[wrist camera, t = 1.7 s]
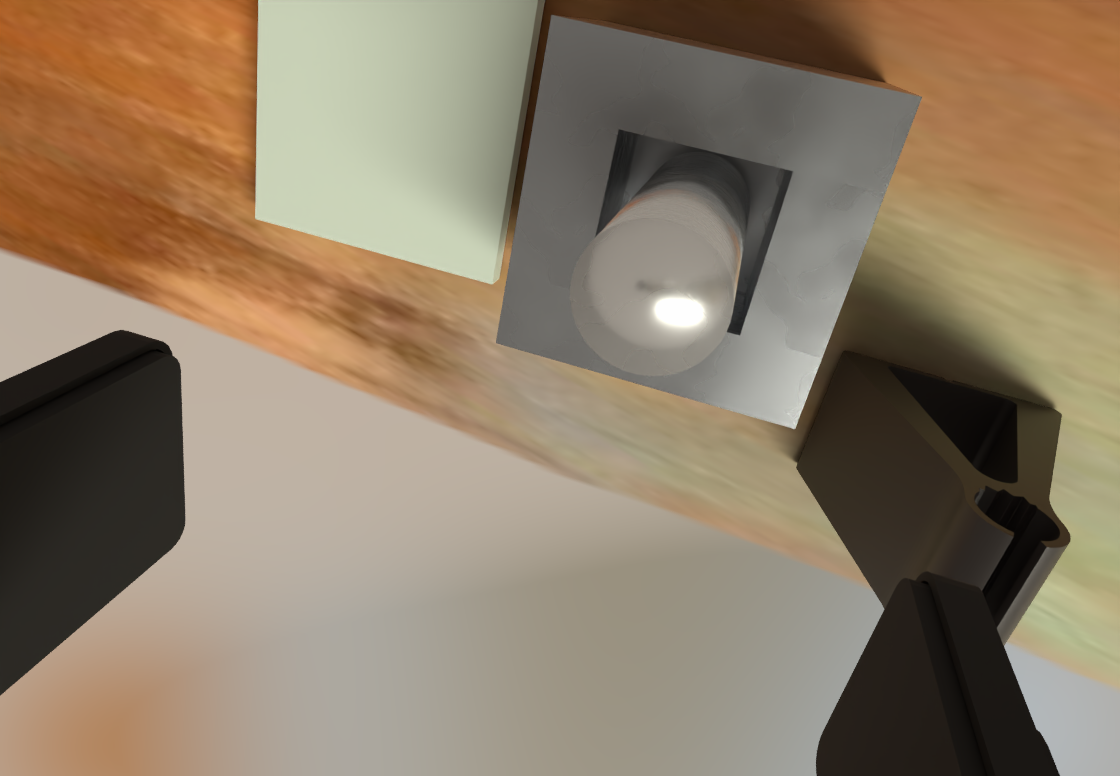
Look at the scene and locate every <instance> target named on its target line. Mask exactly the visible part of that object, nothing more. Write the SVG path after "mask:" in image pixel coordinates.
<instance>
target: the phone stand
mask: <svg viewBox="0 0 1120 776" xmlns="http://www.w3.org/2000/svg"><path fill="white" fill-rule="evenodd" d="M1061 417H1062V414H1061V413H1060V412H1058V411H1056V410H1054V409H1052V408H1049V407H1045V406H1042V405H1038V404H1035V403H1031V402H1027V401H1024V400H1020V399H1017V398H1013V397H1010V396H1006V395H1003V394H999V393H996V392H992V391H988V390H985V389H981V388H978V387H974V386H971V385H967V384H964V383H960V382H956V381H948V380H946V379H944V378H942V377H939V376H935V375H932V374H928V373H924V372H921V371H917V370H914V369H910V368H907V367H903V366H900V365H896V364H893V363H889V362H885V361H882V360H878V359H875V358H871V357H868V356H864V355H861V354H857V353H853V352H850V351H844V352H843V354H842V356H841V359H840V361H839V364H838V366H837V368H836V371H835V373H834V376H833V378H832V381H831V383H830V386H829V388H828V391H827V393H826V395H825V398H824V400H823V403H822V405H821V408H820V410H819V413H818V415H817V418H816V420H815V422H814V425H813V427H812V430H811V432H810V435H809V437H808V440H807V442H806V445H805V447H804V449H803V452H802V454H801V457H800V459H799V462H798V464H797V467H796V468H797V470H798V472H799V473H800V475H801V476H802V478H803V480H804V481H805V483H806V484H807V486H808V488H809V489H810V491H811V492H812V494H813V495H814V497H815V499H816V500H817V502H818V503H819V505H820V507H821V508H822V510H823V511H824V513H825V515H826V516H827V518H828V519H829V521H830V522H831V524H832V526H833V527H834V529H835V530H836V532H837V534H838V535H839V537H840V538H841V540H842V541H843V543H844V545H845V546H846V548H847V549H848V551H849V553H850V554H851V556H852V557H853V559H854V560H855V562H856V564H857V565H858V567H859V568H860V570H861V572H862V573H863V575H864V576H865V578H866V579H867V581H868V583H869V584H870V586H871V587H872V589H873V591H874V592H875V594H876V595H877V597H878V598H879V600H880V602H881V603H882V605H883V607H884V609H885V608H886V606H887V604H888V602H889V600H890V598H891V596H892V594H893V592H894V590H895V588H896V586H897V585H898V583H899V582H900V581H901V580H902V579H903V578H908V579H912V580H916V579H917V577H918V576H919V575H920V574H921V573H922V572H926V571H928V572H932V573H935V574H938V575H942V576H945V577H948V578H952V579H955V580H958V581H962V582H965V583H968V584H972V585H975V586H977V587H979V588H980V589H981V591H982V593H983V595H984V597H985V600H986V602H987V605H988V607H989V610H990V612H991V615H992V617H993V620H994V623H995V625H996V628H997V630H998V633H999V635H1000V638H1001V640H1002V643H1003V646H1004V645H1005V643H1006V642H1007V640H1008V639H1009V637H1010V635H1011V634H1012V632H1013V631H1014V629H1015V628H1016V626H1017V624H1018V623H1019V621H1020V620H1021V618H1022V616H1023V615H1024V613H1025V612H1026V610H1027V609H1028V607H1029V605H1030V604H1031V602H1032V601H1033V599H1034V598H1035V596H1036V594H1037V593H1038V591H1039V590H1040V588H1041V586H1042V585H1043V583H1044V582H1045V580H1046V579H1047V577H1048V575H1049V574H1050V572H1051V571H1052V569H1053V568H1054V566H1055V564H1056V563H1057V561H1058V560H1059V558H1060V556H1061V555H1062V553H1063V552H1064V550H1065V549H1066V547H1067V545H1068V544H1069V542H1070V534H1069V532H1068V530H1067V528H1066V527H1065V526H1064V524H1063V523H1062V522H1061V521H1060V520H1059V518H1058V517H1057V516H1056V514H1055V513H1054V511H1053V509H1052V507H1051V504H1050V501H1049V495H1050V488H1051V482H1052V475H1053V469H1054V462H1055V456H1056V449H1057V443H1058V436H1059V430H1060V423H1061Z"/></svg>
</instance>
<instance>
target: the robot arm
mask: <svg viewBox="0 0 1120 776" xmlns="http://www.w3.org/2000/svg"><path fill="white" fill-rule="evenodd" d="M184 526H185V494H184V462H183V431H182V398H181V369H180V364H179V362H178V360H177V359H176V358H175V357H174V356H172V351H171V350H170V348H169V346H168V345H167V344H166V343H164V342H162V341H159V340H156V339H152V338H148V337H146V336H142V335H139V334H136V333H132V332H129V331H124V330H119V331H115V332H112V333H110V334H107V335H105V336H103V337H101V338H98V339H96V340H94V341H92V342H89V343H87V344H85V345H83V346H80V347H78V348H76V349H74V350H71V351H69V352H67V353H65V354H62V355H60V356H58V357H56V358H53V359H51V360H49V361H47V362H45V363H42V364H40V365H38V366H36V367H33V368H31V369H29V370H27V371H25V372H22V373H20V374H18V375H16V376H13V377H11V378H9V379H6V380H4V381H2V382H0V695H1V694H2V693H4V692H5V691H6V690H7V689H8V688H9V687H10V686H12V685H13V684H14V683H15V682H16V681H18V680H19V679H20V678H21V677H22V676H24V675H25V674H26V673H27V672H28V671H29V670H31V669H32V668H33V667H34V666H35V665H36V664H38V663H39V662H40V661H41V660H42V659H43V658H45V657H46V656H47V655H48V654H49V653H50V652H52V651H53V650H54V649H55V648H56V647H57V646H59V645H60V644H61V643H62V642H63V641H64V640H66V639H67V638H68V637H69V636H70V635H71V634H72V633H74V632H75V631H76V630H77V629H78V628H80V627H81V626H82V625H83V624H84V623H85V622H87V621H88V620H89V619H90V618H91V617H93V616H94V615H95V614H96V613H97V612H98V611H100V610H101V609H102V608H103V607H104V606H105V605H107V604H108V603H109V602H110V601H111V600H112V599H113V598H115V597H116V596H117V595H118V594H119V593H121V592H122V591H123V590H124V589H125V588H126V587H128V586H129V585H130V584H131V583H132V582H133V581H135V580H136V579H137V578H138V577H139V576H140V575H142V574H143V573H144V572H145V571H146V570H147V569H148V568H150V567H151V566H152V565H153V564H154V563H156V562H157V561H158V560H159V559H160V558H161V557H162V556H163V555H165V554H166V553H167V552H169V551H170V550H171V549H172V548H173V547H174V546H175V545H176V543H177V542H178V540H179V539H180V537H181V535H182V533H183V530H184ZM816 773H817V776H1060V775H1059V773H1058V770H1057V768H1056V765H1055V763H1054V760H1053V758H1052V755H1051V753H1050V750H1049V747H1048V745H1047V744H1046V742H1045V740H1044V738H1043V736H1042V735H1041V733H1040V732H1039V731H1038V730H1036V728H1035V725H1034V722H1033V720H1032V717H1031V715H1030V712H1029V709H1028V707H1027V704H1026V702H1025V699H1024V697H1023V694H1022V692H1021V689H1020V687H1019V684H1018V681H1017V679H1016V676H1015V674H1014V671H1013V669H1012V666H1011V663H1010V661H1009V659H1008V656H1007V653H1006V651H1005V648H1004V646H1003V643H1002V640H1001V638H1000V635H999V633H998V630H997V628H996V625H995V623H994V620H993V617H992V615H991V612H990V610H989V607H988V605H987V602H986V600H985V597H984V595H983V593H982V591H981V589H980V588H979V587H977V586H975V585H972V584H968V583H965V582H962V581H958V580H955V579H952V578H948V577H945V576H942V575H938V574H935V573H932V572H928V571H926V572H922V573H921V574H920V575H919V576H918V577H917V579H916V580H912V579H908V578H903V579H902V580H901V581H900V582H899V583H898V585H897V586H896V588H895V590H894V592H893V594H892V596H891V598H890V600H889V602H888V604H887V606H886V608H885V610H884V612H883V614H882V616H881V618H880V620H879V622H878V624H877V626H876V627H875V630H874V631H873V634H872V635H871V637H870V639H869V641H868V643H867V645H866V648H865V649H864V651H863V654H862V655H861V657H860V659H859V661H858V663H857V665H856V667H855V669H854V671H853V673H852V675H851V677H850V679H849V681H848V683H847V685H846V687H845V689H844V691H843V693H842V695H841V697H840V699H839V701H838V703H837V705H836V707H835V709H834V711H833V713H832V715H831V717H830V719H829V721H828V723H827V725H826V727H825V729H824V731H823V733H822V735H821V738H820V741H819V745H818V750H817V757H816Z"/></svg>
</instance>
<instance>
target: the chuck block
mask: <svg viewBox="0 0 1120 776" xmlns="http://www.w3.org/2000/svg"><path fill="white" fill-rule="evenodd" d="M921 98H922V97H921V96H919V95H916V94H914V93H911V92H908V91H906V90H903V89H901V88H898V87H896V86H893V85H891V84H888V83H885V82H881V81H876V80H871V79H867V78H862V77H858V76H853V75H849V74H844V73H840V72H835V71H831V70H826V69H822V68H817V67H812V66H808V65H803V64H799V63H794V62H790V61H785V60H781V59H776V58H772V57H767V56H763V55H758V54H753V53H749V52H744V51H740V50H735V49H731V48H726V47H722V46H717V45H713V44H708V43H704V42H699V41H694V40H690V39H685V38H681V37H676V36H672V35H667V34H663V33H658V32H654V31H649V30H645V29H640V28H635V27H631V26H626V25H622V24H617V23H613V22H608V21H603V20H594V19H585V18H576V17H567V16H558V15H551V21H550V27H549V33H548V39H547V44H546V50H545V56H544V62H543V68H542V74H541V80H540V86H539V92H538V98H537V103H536V109H535V115H534V121H533V127H532V133H531V139H530V145H529V151H528V157H527V162H526V168H525V174H524V180H523V186H522V192H521V198H520V204H519V210H518V216H517V222H516V227H515V233H514V239H513V245H512V251H511V257H510V263H509V269H508V275H507V281H506V286H505V292H504V298H503V304H502V310H501V316H500V322H499V328H498V334H497V340H496V343H498V344H501V345H505V346H508V347H511V348H515V349H518V350H522V351H525V352H529V353H532V354H536V355H539V356H543V357H546V358H550V359H553V360H557V361H560V362H563V363H567V364H570V365H574V366H577V367H581V368H584V369H588V370H591V371H595V372H598V373H602V374H605V375H609V376H612V377H616V378H619V379H622V380H626V381H629V382H633V383H636V384H640V385H643V386H647V387H650V388H654V389H657V390H661V391H664V392H668V393H671V394H674V395H678V396H681V397H685V398H688V399H692V400H695V401H699V402H702V403H706V404H709V405H713V406H716V407H720V408H723V409H727V410H730V411H733V412H737V413H740V414H744V415H747V416H751V417H754V418H758V419H761V420H765V421H768V422H772V423H775V424H779V425H782V426H786V427H789V428H792V429H795V428H796V425H797V422H798V420H799V417H800V415H801V412H802V409H803V407H804V404H805V402H806V399H807V396H808V394H809V391H810V389H811V386H812V383H813V381H814V378H815V375H816V373H817V370H818V368H819V365H820V362H821V360H822V357H823V355H824V352H825V349H826V347H827V344H828V341H829V339H830V336H831V334H832V331H833V328H834V326H835V323H836V321H837V318H838V315H839V313H840V310H841V308H842V305H843V302H844V300H845V297H846V294H847V292H848V289H849V287H850V284H851V281H852V279H853V276H854V274H855V271H856V268H857V266H858V263H859V260H860V258H861V255H862V253H863V250H864V247H865V245H866V242H867V240H868V237H869V234H870V232H871V229H872V227H873V224H874V221H875V219H876V216H877V213H878V211H879V208H880V206H881V203H882V200H883V198H884V195H885V193H886V190H887V187H888V185H889V182H890V179H891V177H892V174H893V172H894V169H895V166H896V164H897V161H898V159H899V156H900V153H901V151H902V148H903V146H904V143H905V140H906V138H907V135H908V132H909V130H910V127H911V125H912V122H913V119H914V117H915V114H916V112H917V109H918V106H919V104H920V101H921ZM691 152H705V153H711V154H714V155H717V156H719V157H721V158H724V159H725V160H727V161H728V162H730V163H731V164H732V165H733V166H734V167H735V168H736V169H737V170H738V171H739V172H740V174H741V175H742V177H743V179H744V181H745V183H746V185H747V188H748V191H749V197H750V210H749V217H748V223H747V229H746V235H745V241H744V247H743V253H742V259H741V265H740V271H739V277H738V283H737V289H736V295H735V302H734V308H733V313H732V317H731V321H730V324H729V327H728V329H727V332H726V334H725V335H724V337H723V339H722V341H721V342H720V343H719V345H718V346H717V347H716V349H715V350H714V351H713V352H712V353H711V354H710V355H709V356H708V357H706V358H705V359H704V360H703V361H701V362H700V363H698V364H697V365H695V366H693V367H691V368H689V369H687V370H684V371H682V372H679V373H675V374H671V375H664V376H645V375H638V374H634V373H630V372H627V371H624V370H621V369H619V368H617V367H615V366H613V365H611V364H610V363H608V362H607V361H605V360H604V359H602V358H601V357H600V356H599V355H598V354H596V353H595V352H594V351H593V350H592V349H591V347H590V346H589V345H588V344H587V343H586V341H585V340H584V339H583V337H582V335H581V334H580V332H579V330H578V328H577V326H576V323H575V321H574V318H573V314H572V310H571V303H570V286H571V279H572V276H573V272H574V269H575V266H576V264H577V262H578V260H579V258H580V256H581V255H582V253H583V251H584V250H585V249H586V248H587V246H588V245H589V244H590V243H591V242H592V241H593V240H594V238H595V237H596V236H597V235H598V234H599V233H600V232H601V231H602V230H603V229H604V228H605V227H606V225H607V224H608V223H609V222H610V221H611V220H612V219H613V218H614V217H615V216H616V215H617V214H618V212H619V211H620V210H621V209H622V208H623V207H624V206H625V205H626V204H627V203H628V202H629V201H630V199H631V198H632V197H633V196H634V195H635V194H636V193H637V192H638V191H639V190H640V189H641V188H642V186H643V185H644V184H645V183H646V182H647V181H648V180H649V179H650V178H651V177H652V176H653V175H654V173H655V172H656V171H657V170H658V169H659V168H660V167H661V166H662V165H663V164H665V163H666V162H668V161H669V160H671V159H673V158H674V157H676V156H679V155H682V154H686V153H691Z"/></svg>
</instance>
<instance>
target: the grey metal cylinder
mask: <svg viewBox="0 0 1120 776" xmlns="http://www.w3.org/2000/svg"><path fill="white" fill-rule="evenodd" d="M749 210H750V197H749V191H748V188H747V185H746V183H745V181H744V179H743V177H742V175H741V174H740V172H739V171H738V170H737V169H736V168H735V167H734V166H733V165H732V164H731V163H730V162H728V161H727V160H725V159H724V158H721V157H719V156H717V155H714V154H711V153H705V152H691V153H686V154H682V155H679V156H676V157H674V158H673V159H671V160H669V161H668V162H666V163H665V164H663V165H662V166H661V167H660V168H659V169H658V170H657V171H656V172H655V173H654V175H653V176H652V177H651V178H650V179H649V180H648V181H647V182H646V183H645V184H644V185H643V186H642V188H641V189H640V190H639V191H638V192H637V193H636V194H635V195H634V196H633V197H632V198H631V199H630V201H629V202H628V203H627V204H626V205H625V206H624V207H623V208H622V209H621V210H620V211H619V212H618V214H617V215H616V216H615V217H614V218H613V219H612V220H611V221H610V222H609V223H608V224H607V225H606V227H605V228H604V229H603V230H602V231H601V232H600V233H599V234H598V235H597V236H596V237H595V238H594V240H593V241H592V242H591V243H590V244H589V245H588V246H587V248H586V249H585V250H584V251H583V253H582V255H581V256H580V258H579V260H578V262H577V264H576V266H575V269H574V272H573V276H572V279H571V286H570V303H571V310H572V314H573V318H574V321H575V323H576V326H577V328H578V330H579V332H580V334H581V335H582V337H583V339H584V340H585V341H586V343H587V344H588V345H589V346H590V347H591V349H592V350H593V351H594V352H595V353H596V354H598V355H599V356H600V357H601V358H602V359H604V360H605V361H607V362H608V363H610V364H611V365H613V366H615V367H617V368H619V369H621V370H624V371H627V372H630V373H634V374H638V375H645V376H664V375H671V374H675V373H679V372H682V371H684V370H687V369H689V368H691V367H693V366H695V365H697V364H698V363H700V362H701V361H703V360H704V359H705V358H706V357H708V356H709V355H710V354H711V353H712V352H713V351H714V350H715V349H716V347H717V346H718V345H719V343H720V342H721V341H722V339H723V337H724V335H725V334H726V332H727V329H728V327H729V324H730V321H731V317H732V313H733V308H734V302H735V295H736V289H737V283H738V277H739V271H740V265H741V259H742V253H743V247H744V241H745V235H746V229H747V223H748V217H749Z"/></svg>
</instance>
